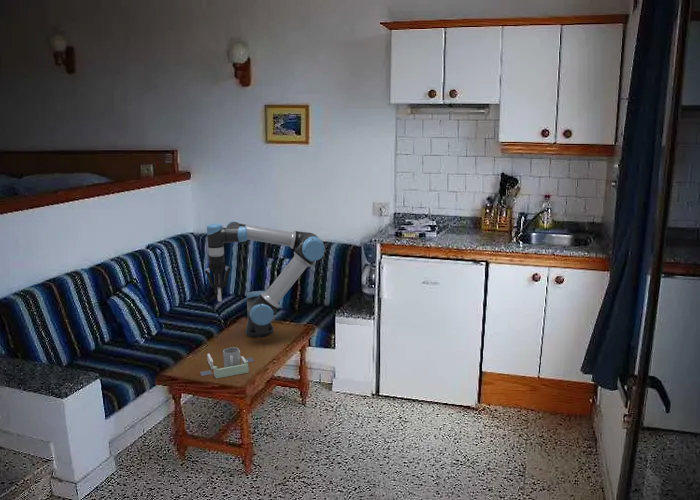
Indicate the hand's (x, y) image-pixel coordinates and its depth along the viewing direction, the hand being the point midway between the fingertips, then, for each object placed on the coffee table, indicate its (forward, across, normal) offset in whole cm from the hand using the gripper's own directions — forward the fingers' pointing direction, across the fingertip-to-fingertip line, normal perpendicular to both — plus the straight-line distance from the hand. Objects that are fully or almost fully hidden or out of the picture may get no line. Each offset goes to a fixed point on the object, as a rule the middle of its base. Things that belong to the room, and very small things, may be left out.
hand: (219, 300), depth 297 cm
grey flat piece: (+24, +3, +27) cm, 36 cm away
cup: (+25, +2, +30) cm, 39 cm away
